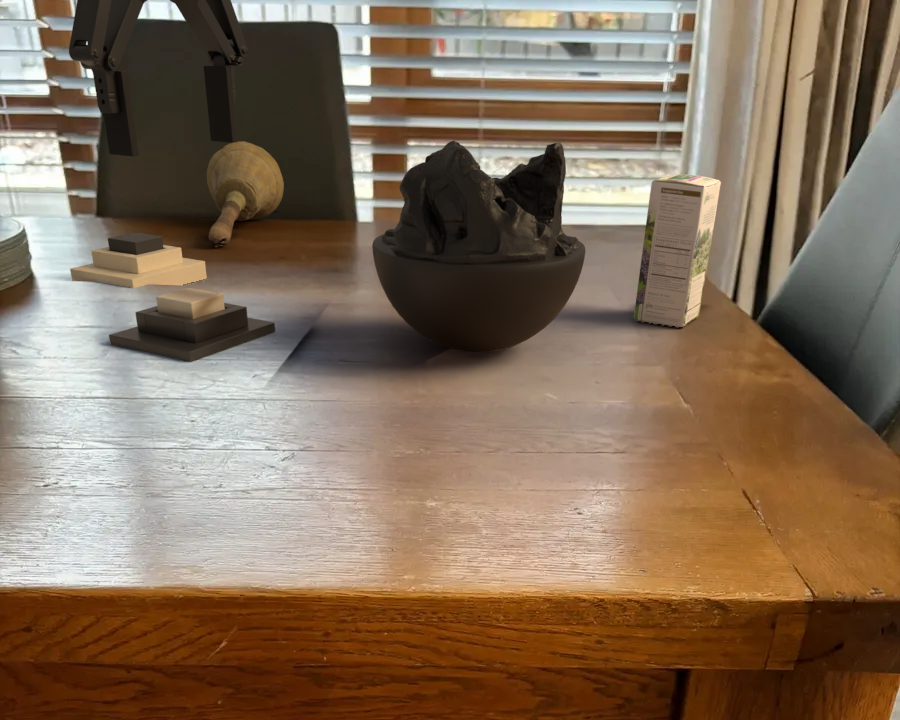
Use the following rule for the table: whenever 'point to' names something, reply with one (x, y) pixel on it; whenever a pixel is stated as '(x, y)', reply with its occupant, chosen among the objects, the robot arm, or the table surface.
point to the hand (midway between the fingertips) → (177, 148)
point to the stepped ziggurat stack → (140, 268)
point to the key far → (135, 243)
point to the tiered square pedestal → (191, 333)
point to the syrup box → (676, 249)
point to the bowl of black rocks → (480, 250)
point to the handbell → (242, 186)
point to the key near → (190, 303)
